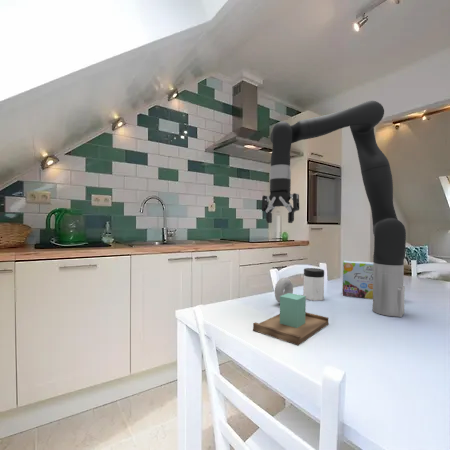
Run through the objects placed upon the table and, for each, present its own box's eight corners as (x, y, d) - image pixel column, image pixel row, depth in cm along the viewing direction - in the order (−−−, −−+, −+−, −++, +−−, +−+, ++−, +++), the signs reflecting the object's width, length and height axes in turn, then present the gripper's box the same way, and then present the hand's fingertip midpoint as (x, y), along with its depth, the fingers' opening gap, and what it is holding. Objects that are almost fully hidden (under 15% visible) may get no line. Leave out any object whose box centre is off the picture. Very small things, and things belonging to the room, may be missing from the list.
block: (305, 323, 81) (305, 296, 81) (296, 328, 76) (297, 299, 77) (288, 318, 84) (288, 292, 84) (279, 323, 80) (279, 296, 80)
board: (328, 324, 83) (328, 317, 83) (298, 345, 68) (298, 337, 68) (287, 313, 93) (287, 307, 93) (253, 330, 78) (253, 323, 78)
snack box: (342, 296, 117) (343, 261, 117) (342, 293, 122) (342, 260, 122) (400, 302, 109) (400, 264, 109) (397, 299, 114) (397, 263, 114)
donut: (287, 300, 109) (287, 275, 109) (294, 302, 107) (295, 276, 107) (272, 305, 102) (272, 278, 102) (280, 307, 100) (280, 280, 100)
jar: (307, 301, 109) (308, 271, 109) (299, 295, 117) (299, 268, 117) (328, 300, 110) (329, 271, 110) (319, 295, 118) (319, 267, 118)
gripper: (302, 178, 98) (302, 223, 98) (268, 182, 107) (268, 223, 107) (293, 175, 92) (293, 222, 92) (258, 179, 101) (257, 222, 101)
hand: (279, 222), depth 100 cm, fingers open, 8 cm apart
